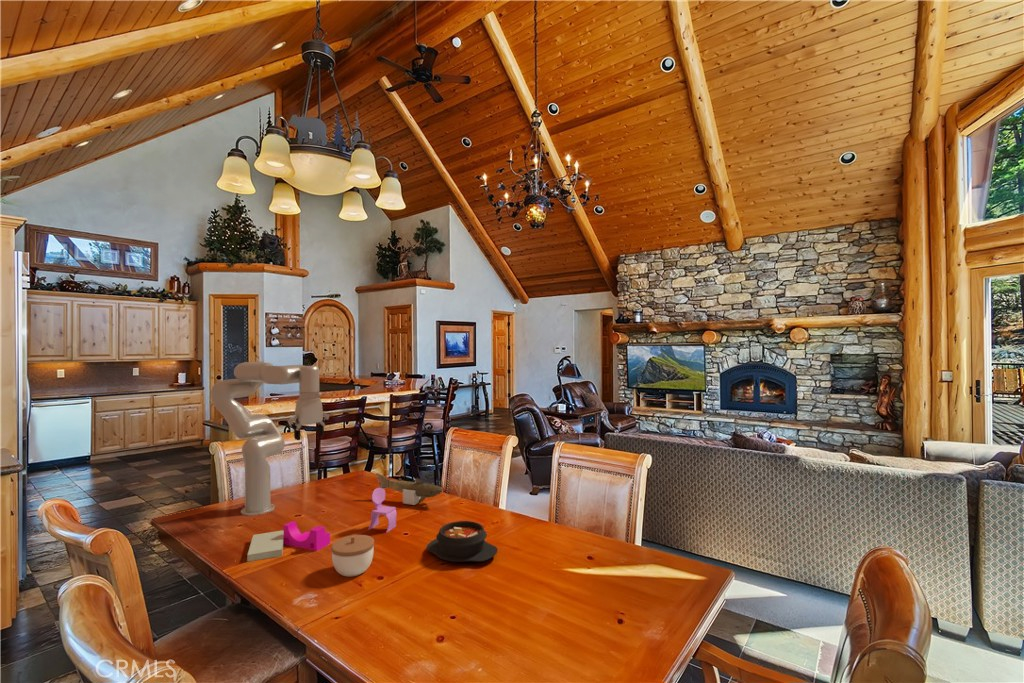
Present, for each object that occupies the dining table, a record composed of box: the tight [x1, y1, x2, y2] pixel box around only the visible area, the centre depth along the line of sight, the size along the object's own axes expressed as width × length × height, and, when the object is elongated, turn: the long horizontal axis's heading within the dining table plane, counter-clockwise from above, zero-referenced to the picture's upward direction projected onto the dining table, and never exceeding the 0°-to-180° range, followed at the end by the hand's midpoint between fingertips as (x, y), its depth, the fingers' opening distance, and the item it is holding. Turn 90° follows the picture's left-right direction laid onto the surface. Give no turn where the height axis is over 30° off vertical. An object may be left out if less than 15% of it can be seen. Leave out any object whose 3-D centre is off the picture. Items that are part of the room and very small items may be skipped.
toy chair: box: [367, 487, 397, 533], centre depth 175 cm, size 8×9×15 cm
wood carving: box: [375, 472, 444, 506], centre depth 204 cm, size 9×35×11 cm, turn 68°
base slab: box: [246, 529, 285, 562], centre depth 157 cm, size 17×10×4 cm, turn 24°
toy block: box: [283, 521, 331, 552], centre depth 161 cm, size 15×6×8 cm, turn 69°
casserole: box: [426, 520, 499, 563], centre depth 153 cm, size 25×19×8 cm
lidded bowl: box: [330, 534, 375, 578], centre depth 141 cm, size 13×13×11 cm
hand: (309, 437), depth 186 cm, fingers open, 9 cm apart
